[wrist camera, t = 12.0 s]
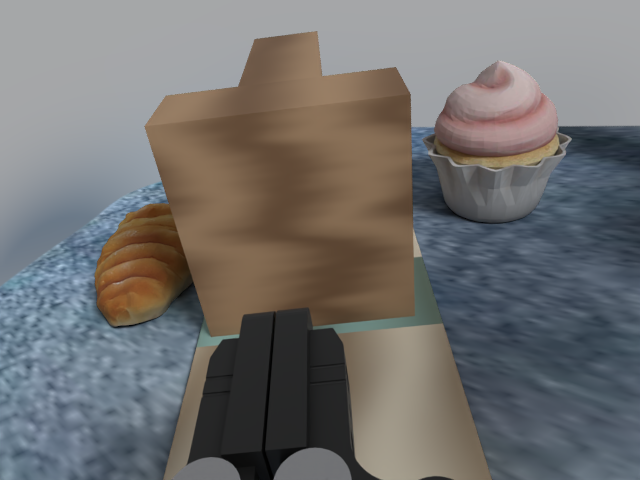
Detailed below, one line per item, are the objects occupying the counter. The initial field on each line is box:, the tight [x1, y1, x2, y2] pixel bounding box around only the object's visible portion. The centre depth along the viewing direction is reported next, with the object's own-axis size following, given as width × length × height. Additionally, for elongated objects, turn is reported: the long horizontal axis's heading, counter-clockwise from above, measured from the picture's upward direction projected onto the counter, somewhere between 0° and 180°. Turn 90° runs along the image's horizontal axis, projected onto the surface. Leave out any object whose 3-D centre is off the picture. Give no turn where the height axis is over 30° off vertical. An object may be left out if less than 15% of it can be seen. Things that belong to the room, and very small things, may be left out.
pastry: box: [95, 203, 193, 327], centre depth 33 cm, size 9×7×4 cm
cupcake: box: [422, 61, 572, 223], centre depth 34 cm, size 9×9×10 cm
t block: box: [145, 31, 415, 337], centre depth 30 cm, size 11×14×12 cm
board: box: [163, 229, 492, 480], centre depth 28 cm, size 13×30×1 cm, turn 1°
